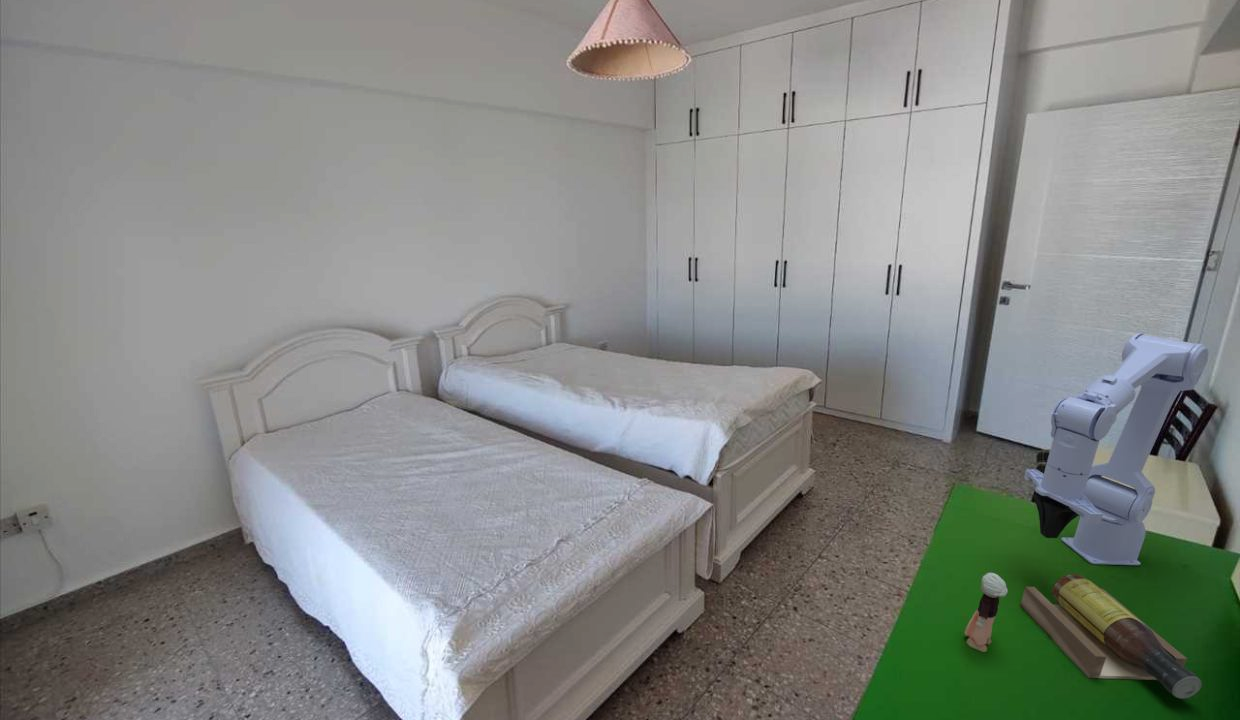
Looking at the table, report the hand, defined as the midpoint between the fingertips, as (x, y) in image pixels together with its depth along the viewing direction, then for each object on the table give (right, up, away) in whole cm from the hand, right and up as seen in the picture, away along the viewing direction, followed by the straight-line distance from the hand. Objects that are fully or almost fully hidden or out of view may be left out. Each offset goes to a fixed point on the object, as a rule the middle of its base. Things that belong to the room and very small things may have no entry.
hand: (1048, 535), depth 95 cm
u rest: (0, -14, -9) cm, 17 cm away
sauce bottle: (+1, -8, -3) cm, 8 cm away
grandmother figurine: (-19, -14, -10) cm, 26 cm away
